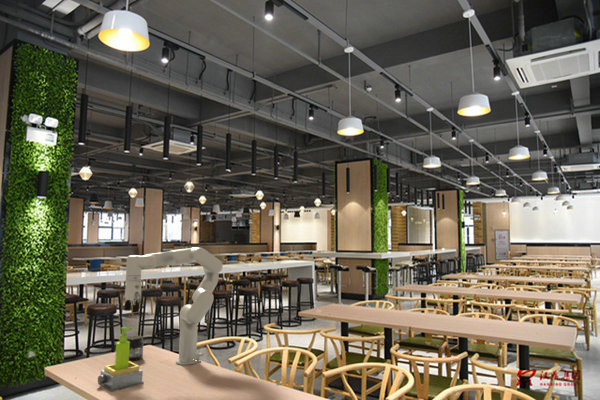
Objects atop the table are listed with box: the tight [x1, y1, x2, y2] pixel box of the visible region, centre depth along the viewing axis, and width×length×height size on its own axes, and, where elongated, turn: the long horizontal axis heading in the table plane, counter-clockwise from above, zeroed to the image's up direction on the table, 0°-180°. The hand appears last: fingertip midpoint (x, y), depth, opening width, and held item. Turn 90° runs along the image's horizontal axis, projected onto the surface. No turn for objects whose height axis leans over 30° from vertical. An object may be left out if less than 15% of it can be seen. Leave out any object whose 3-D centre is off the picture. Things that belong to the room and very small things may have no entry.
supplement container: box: [127, 335, 144, 362], centre depth 237 cm, size 10×10×12 cm
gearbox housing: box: [97, 361, 144, 392], centre depth 195 cm, size 17×15×8 cm
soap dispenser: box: [114, 326, 133, 370], centre depth 197 cm, size 6×7×20 cm
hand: (131, 311), depth 218 cm, fingers open, 9 cm apart
